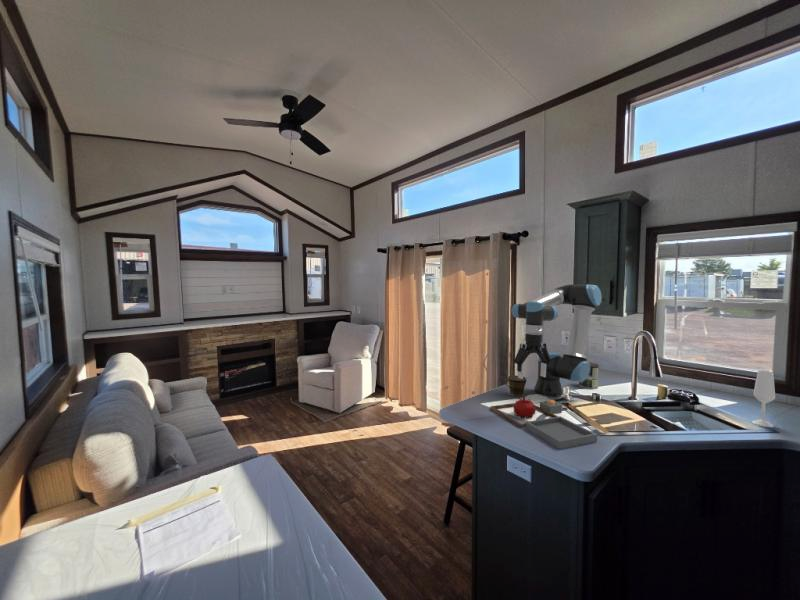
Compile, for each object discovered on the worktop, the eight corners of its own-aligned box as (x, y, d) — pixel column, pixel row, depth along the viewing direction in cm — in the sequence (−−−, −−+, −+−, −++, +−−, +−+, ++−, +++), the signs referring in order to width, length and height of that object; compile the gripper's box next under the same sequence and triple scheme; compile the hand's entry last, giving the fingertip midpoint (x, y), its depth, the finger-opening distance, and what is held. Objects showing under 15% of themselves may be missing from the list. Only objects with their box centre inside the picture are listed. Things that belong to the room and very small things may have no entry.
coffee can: (583, 388, 199) (583, 365, 198) (576, 383, 209) (576, 361, 208) (601, 389, 197) (602, 366, 197) (593, 384, 208) (594, 362, 207)
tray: (559, 422, 150) (560, 416, 150) (596, 441, 132) (597, 434, 132) (525, 428, 144) (525, 421, 144) (559, 449, 126) (559, 441, 126)
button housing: (550, 407, 168) (551, 400, 168) (561, 412, 162) (561, 404, 161) (539, 409, 166) (540, 401, 166) (550, 414, 159) (550, 406, 159)
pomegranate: (539, 419, 155) (540, 399, 154) (519, 420, 153) (520, 400, 152) (527, 410, 164) (528, 392, 164) (509, 411, 163) (510, 393, 162)
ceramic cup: (518, 391, 193) (518, 374, 193) (530, 397, 184) (530, 379, 184) (499, 393, 189) (499, 376, 189) (510, 399, 180) (510, 381, 179)
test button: (550, 406, 166) (551, 398, 166) (557, 409, 162) (557, 401, 162) (544, 407, 165) (544, 399, 165) (550, 410, 161) (550, 402, 161)
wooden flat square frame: (527, 404, 173) (527, 401, 173) (561, 421, 151) (561, 418, 151) (489, 409, 166) (490, 406, 166) (520, 428, 144) (520, 424, 144)
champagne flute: (775, 428, 145) (778, 374, 144) (752, 424, 149) (755, 371, 148) (772, 423, 150) (775, 371, 149) (750, 419, 154) (753, 369, 153)
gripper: (517, 335, 150) (515, 381, 151) (560, 334, 159) (558, 377, 159) (507, 333, 157) (505, 376, 158) (548, 332, 166) (546, 373, 166)
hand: (531, 377), depth 159 cm, fingers open, 13 cm apart
